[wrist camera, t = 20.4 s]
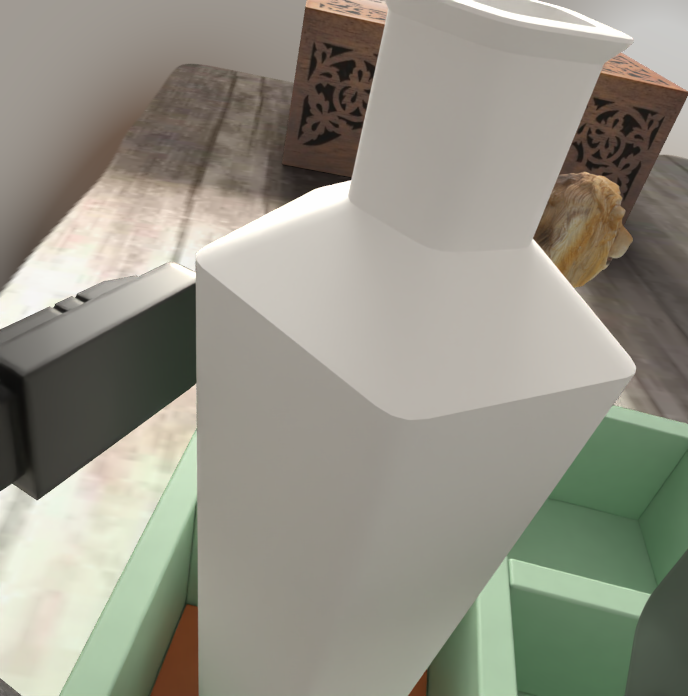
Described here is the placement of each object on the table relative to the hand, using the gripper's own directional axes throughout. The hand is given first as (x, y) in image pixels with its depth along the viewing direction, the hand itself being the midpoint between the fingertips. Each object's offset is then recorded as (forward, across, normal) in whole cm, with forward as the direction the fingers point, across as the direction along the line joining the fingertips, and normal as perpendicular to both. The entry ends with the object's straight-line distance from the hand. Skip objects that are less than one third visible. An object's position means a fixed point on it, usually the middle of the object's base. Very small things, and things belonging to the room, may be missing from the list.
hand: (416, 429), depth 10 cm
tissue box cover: (+43, +13, +10) cm, 46 cm away
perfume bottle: (-2, 0, +9) cm, 9 cm away
